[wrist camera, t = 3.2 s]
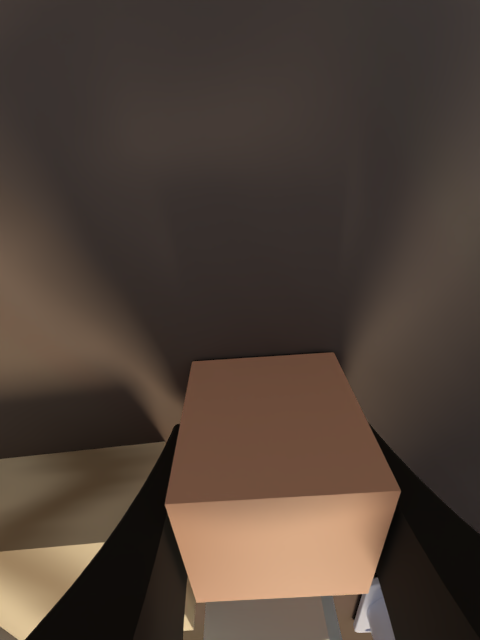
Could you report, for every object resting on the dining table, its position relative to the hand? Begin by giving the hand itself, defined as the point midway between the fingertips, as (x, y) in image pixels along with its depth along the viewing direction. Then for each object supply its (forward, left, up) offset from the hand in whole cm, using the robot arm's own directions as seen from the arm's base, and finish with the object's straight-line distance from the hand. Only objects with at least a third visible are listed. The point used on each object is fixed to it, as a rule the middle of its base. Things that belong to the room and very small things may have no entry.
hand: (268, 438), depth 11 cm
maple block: (+8, +6, -2) cm, 10 cm away
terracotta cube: (0, 0, -1) cm, 1 cm away
